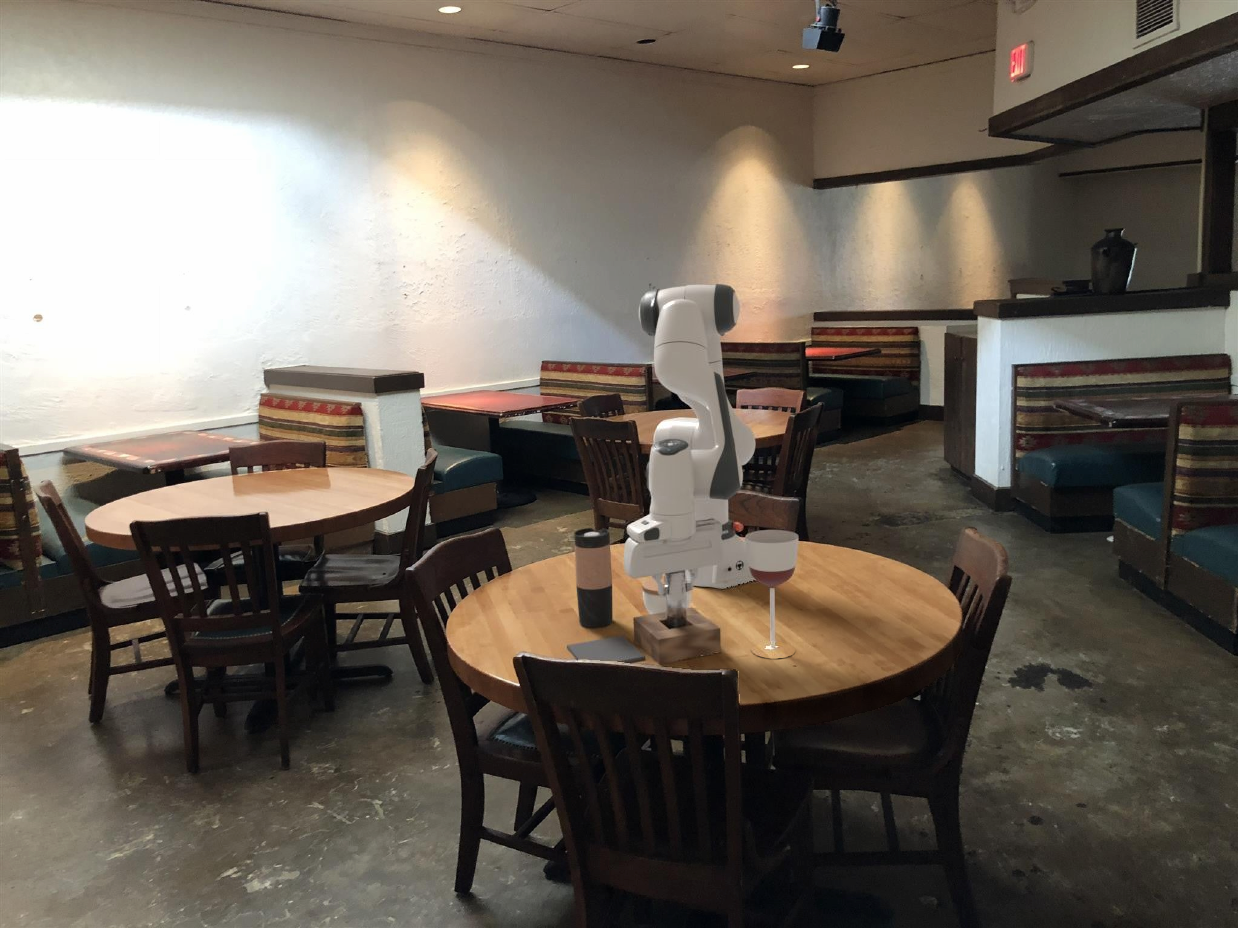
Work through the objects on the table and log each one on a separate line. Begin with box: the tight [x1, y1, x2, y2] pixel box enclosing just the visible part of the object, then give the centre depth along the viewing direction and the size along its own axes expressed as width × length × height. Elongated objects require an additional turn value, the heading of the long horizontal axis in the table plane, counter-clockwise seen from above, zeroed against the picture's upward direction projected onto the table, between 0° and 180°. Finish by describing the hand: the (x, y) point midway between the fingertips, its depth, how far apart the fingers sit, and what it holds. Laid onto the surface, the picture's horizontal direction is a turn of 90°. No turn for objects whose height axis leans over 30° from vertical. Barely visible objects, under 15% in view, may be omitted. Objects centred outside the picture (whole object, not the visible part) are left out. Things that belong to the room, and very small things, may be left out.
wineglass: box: [744, 529, 799, 650], centre depth 179 cm, size 9×10×23 cm
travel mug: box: [573, 527, 614, 629], centre depth 199 cm, size 8×8×20 cm
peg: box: [664, 570, 687, 629], centre depth 184 cm, size 4×4×12 cm
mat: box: [566, 634, 646, 663], centre depth 184 cm, size 12×12×1 cm
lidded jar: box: [641, 574, 692, 615], centre depth 201 cm, size 11×11×9 cm
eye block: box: [632, 607, 722, 665], centre depth 185 cm, size 13×13×5 cm
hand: (675, 592), depth 184 cm, fingers closed on peg, 4 cm apart
